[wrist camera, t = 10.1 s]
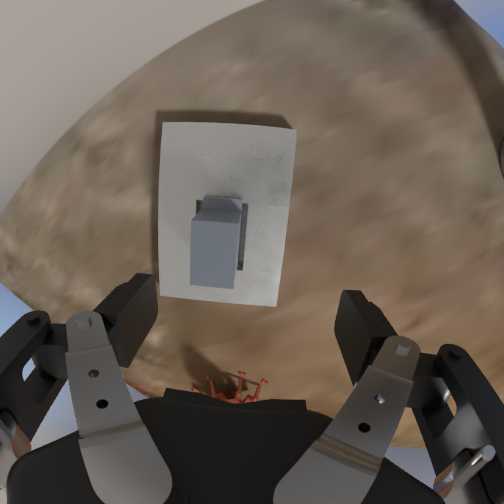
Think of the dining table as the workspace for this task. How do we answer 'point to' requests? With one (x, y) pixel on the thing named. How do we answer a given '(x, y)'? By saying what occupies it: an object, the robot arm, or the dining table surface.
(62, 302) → the dining table surface
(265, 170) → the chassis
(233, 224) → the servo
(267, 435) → the robot arm
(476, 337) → the dining table surface
